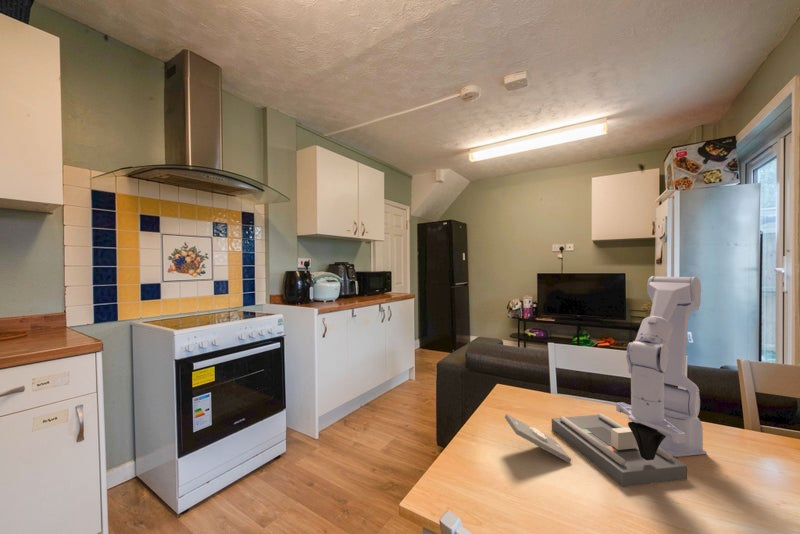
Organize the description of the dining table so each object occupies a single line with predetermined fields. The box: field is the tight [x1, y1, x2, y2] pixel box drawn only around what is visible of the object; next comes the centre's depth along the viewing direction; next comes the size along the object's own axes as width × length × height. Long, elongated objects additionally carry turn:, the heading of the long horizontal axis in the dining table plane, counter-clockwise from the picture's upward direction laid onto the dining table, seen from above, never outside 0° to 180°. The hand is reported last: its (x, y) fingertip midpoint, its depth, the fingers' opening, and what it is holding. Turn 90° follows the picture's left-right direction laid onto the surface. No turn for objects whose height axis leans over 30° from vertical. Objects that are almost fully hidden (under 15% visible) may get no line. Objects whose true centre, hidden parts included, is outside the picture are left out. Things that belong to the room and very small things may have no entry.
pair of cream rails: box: [559, 412, 674, 466], centre depth 79 cm, size 13×21×1 cm, turn 8°
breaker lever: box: [611, 426, 637, 450], centre depth 75 cm, size 5×2×4 cm, turn 98°
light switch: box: [504, 413, 572, 464], centre depth 78 cm, size 8×6×14 cm
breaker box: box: [551, 414, 689, 488], centre depth 79 cm, size 16×24×3 cm, turn 8°
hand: (647, 458), depth 69 cm, fingers closed
